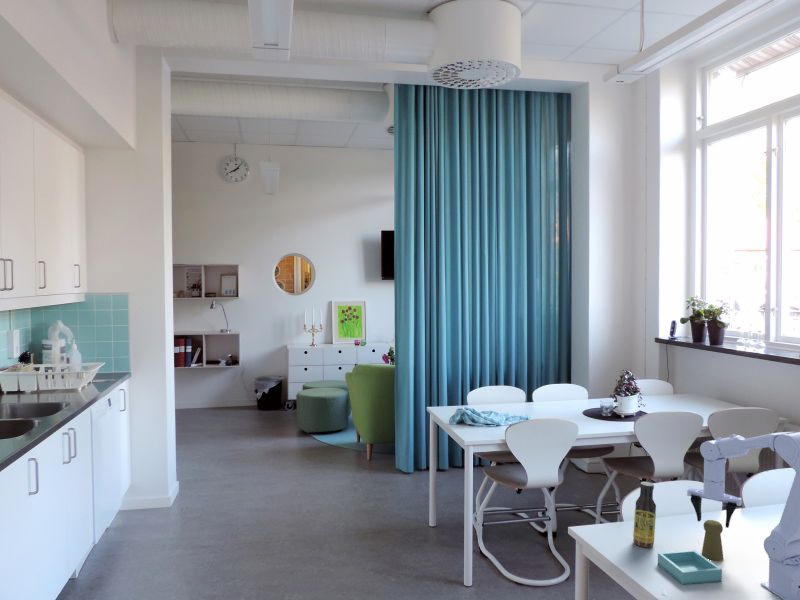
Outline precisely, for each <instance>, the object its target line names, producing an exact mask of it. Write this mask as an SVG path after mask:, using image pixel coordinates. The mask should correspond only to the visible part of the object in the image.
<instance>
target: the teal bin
mask: <svg viewBox="0 0 800 600" xmlns="http://www.w3.org/2000/svg"><path fill="white" fill-rule="evenodd" d="M701 554H702V553H700V552H698V551H697V550H694V549H693V550H690V549H689V550H680V551H679V550H678V551H676V550H675V551H667V552H665V551H664V552H658V553H657V565H658V566H659V567H661V569H663V570H664V571H665V572H666V573H667V574H669V575H670V576H672V577H673V579H675V580H676V581H677V582H679V583H680V584H681V585H682V586H683V585H685V586H686V585H696V584H710V583H711V584H712V583H721V582H722V581H723V569H722V568H721V567H719V566H718V565H717V564H715V563H714V562H713V561H710V560H708V559H706V558H705V557H704V556H702V555H701Z"/></svg>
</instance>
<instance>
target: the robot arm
mask: <svg viewBox="0 0 800 600" xmlns="http://www.w3.org/2000/svg"><path fill="white" fill-rule="evenodd" d="M699 447H700V448H699V451H700V454H701V456H702V458H703V489H700V488H699V489H698V488H690V487H688V488H687V490H686V492H687V494H686V495H687V496H688V497H690V502H691V504H692V506H693V508H694V511H695V514H696V518H697V522H701V521H702V499H705V500H712V501H716V502H722V503H726V504H725V505H726V506H725V515H726V517H725V528H728V529H729V526H730V522H731V518H732V516H733V514H734V512H735V511H736V509H737V507H741V506H742V497H737V496H734V495H731V494H727V493H725V489H726V488H725V486H726V484H725V483H726V464H727V460H728V459H729V458H738V457H742V456H744V457H745V456H747V455H748V454H749V451H750V450H756V449H764V448H769V449H770V450H771V451H772V452H776V453H777V455H779V456H780V458H781V459H783V461H785V462H786V463H787V465H789V467H791V469H792V470H794V471H795V474H794V478H793V482H792V483H791V484H792V485H791V486H790V487H791V488H790V490H789V494H788V496H787V500H786V502H785V504H784V508H783V512H782V514H781V517H780V519H779V523H778V524H777V525H776V526H774V528H772V530H771V532H770V533H769V536H767V537H766V538H765V539H764V541H763V548H764V551H765V553H766V554H767V556H768V557H767V558H769V559H768V562H769V563H768V564H769V565H768V581H761V582H760V585H761V586H762V587H764V588H766V589H767V590H769V591H770V592H771V593H773V594H775V595H776V596H778V597H779V598H780V599H782V600H800V431H798V432H797V431H784V432H783V431H780V432H773V433H768V434H767V433H766V434H763V435H758V436H753V437H748V438H745V437H744V436H742V435H737V434H736V433H733V434H728V437H724V438H723V437H721V436H719V437H716V439H713V440H706V441H704V442H702V443H701V444H700V446H699Z"/></svg>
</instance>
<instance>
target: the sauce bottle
mask: <svg viewBox="0 0 800 600" xmlns="http://www.w3.org/2000/svg"><path fill="white" fill-rule="evenodd" d="M639 488H640V490H639V491H640V493H639V497H638V498H637V500H636V501H635V510H634V518H633V521H634V522H633V534H632V536H633V540H632V541H633V543H634V545H636V546H639V547H642V548H648V549H649V548H651V547H653V546H654V543H655V536H656V535H655V533H656V530H655V529H656V517H657V516H656V515H657V514H656V512H657V505H656V503H655V501H654V499H653V498H654V495H653V494H654V493H653V492H654V488H655V485H654V484H653V483H652V482H649V481H641V482H640V484H639Z"/></svg>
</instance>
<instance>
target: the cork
mask: <svg viewBox="0 0 800 600" xmlns="http://www.w3.org/2000/svg"><path fill="white" fill-rule="evenodd" d="M703 530H704V531H705V532H704V538H703V543H702V549H701V554H702V556H704V557H705V558H706V559H709V561H710V560H711V562H717V563H718V562H722V561H724V552H723V543H722V537H721V534H722V533H723V530H724V527H723V525H722V523H721V522H720V521H719V520H718V521H717V520H715V519H706V520H705V521H704V522H703Z"/></svg>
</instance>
